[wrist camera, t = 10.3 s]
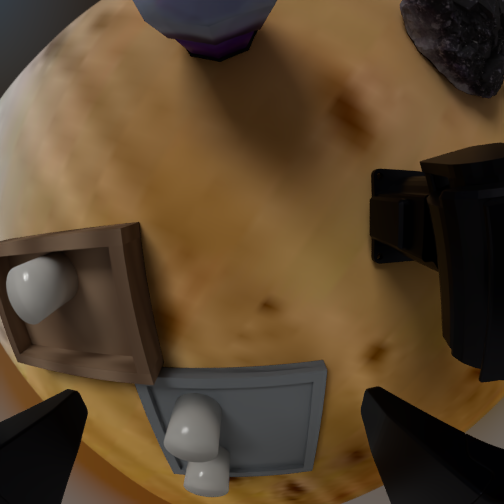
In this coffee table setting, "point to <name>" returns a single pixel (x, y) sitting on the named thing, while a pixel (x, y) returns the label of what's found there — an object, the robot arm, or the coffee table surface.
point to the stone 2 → (194, 428)
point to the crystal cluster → (460, 40)
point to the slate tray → (249, 413)
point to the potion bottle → (208, 24)
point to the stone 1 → (41, 286)
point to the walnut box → (89, 307)
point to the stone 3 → (209, 475)
